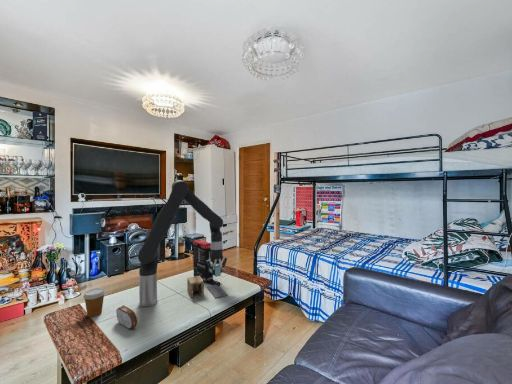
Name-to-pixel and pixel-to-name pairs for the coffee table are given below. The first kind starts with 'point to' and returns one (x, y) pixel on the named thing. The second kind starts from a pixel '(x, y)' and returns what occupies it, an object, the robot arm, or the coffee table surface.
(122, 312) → the brown grey rounded block
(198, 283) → the sleeve
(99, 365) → the coffee table surface
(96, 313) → the disposable coffee cup
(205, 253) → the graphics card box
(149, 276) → the robot arm
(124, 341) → the coffee table surface
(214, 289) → the mat
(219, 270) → the grey-blue block
